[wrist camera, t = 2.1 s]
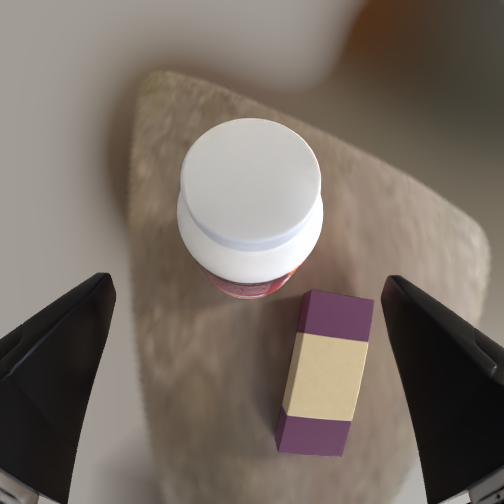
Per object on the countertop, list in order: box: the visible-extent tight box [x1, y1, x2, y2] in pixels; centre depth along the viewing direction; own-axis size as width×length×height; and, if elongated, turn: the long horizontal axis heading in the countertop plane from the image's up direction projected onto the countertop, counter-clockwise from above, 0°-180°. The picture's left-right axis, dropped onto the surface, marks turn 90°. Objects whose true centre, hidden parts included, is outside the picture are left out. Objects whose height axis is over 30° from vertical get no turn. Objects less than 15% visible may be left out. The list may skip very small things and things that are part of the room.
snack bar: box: [275, 290, 374, 457], centre depth 17 cm, size 10×4×2 cm, turn 169°
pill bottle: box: [177, 118, 323, 299], centre depth 15 cm, size 6×6×11 cm
